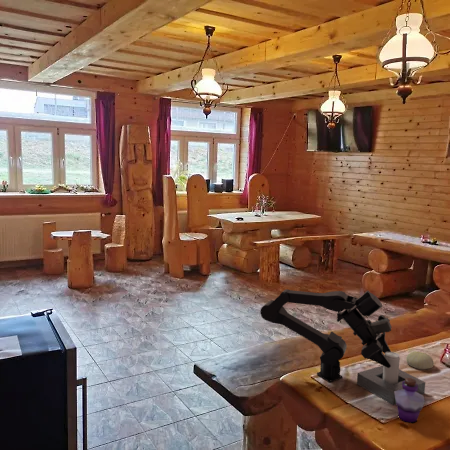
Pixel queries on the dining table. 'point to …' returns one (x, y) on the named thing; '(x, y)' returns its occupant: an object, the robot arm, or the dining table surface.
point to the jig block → (385, 383)
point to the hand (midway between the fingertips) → (390, 361)
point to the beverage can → (391, 368)
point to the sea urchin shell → (419, 360)
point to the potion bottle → (409, 401)
